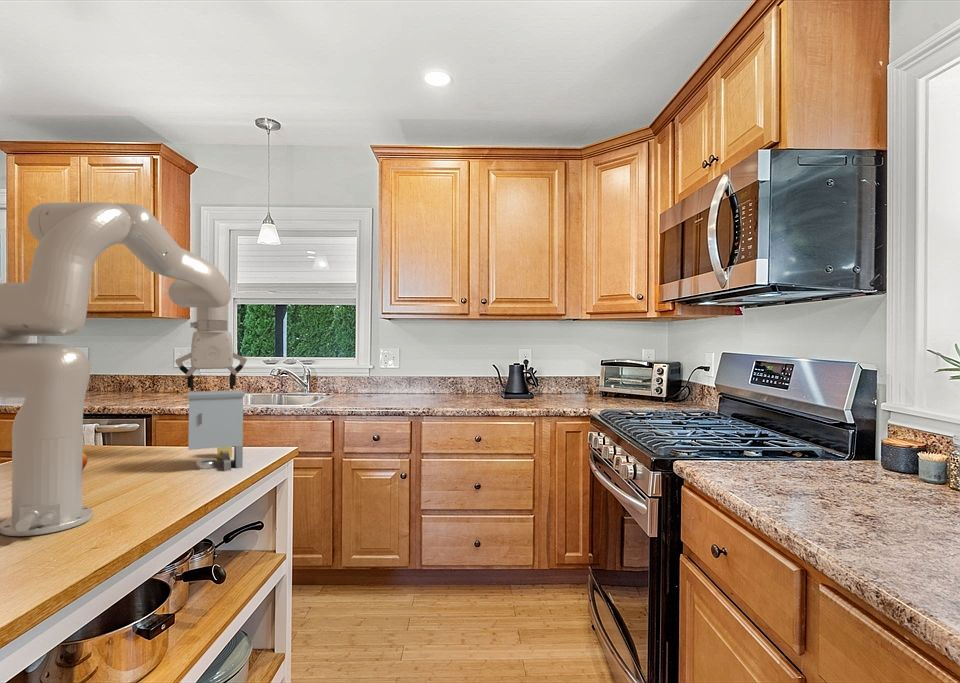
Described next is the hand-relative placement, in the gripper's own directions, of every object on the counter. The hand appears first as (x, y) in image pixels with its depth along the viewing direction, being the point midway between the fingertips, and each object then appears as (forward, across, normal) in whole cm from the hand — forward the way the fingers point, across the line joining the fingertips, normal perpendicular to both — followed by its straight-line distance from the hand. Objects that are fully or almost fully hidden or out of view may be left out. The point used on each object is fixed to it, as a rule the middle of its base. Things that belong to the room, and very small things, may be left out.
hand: (212, 389), depth 142 cm
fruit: (+18, -30, -7) cm, 36 cm away
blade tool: (+18, +3, -9) cm, 20 cm away
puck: (+18, -2, -12) cm, 22 cm away
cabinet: (+18, 0, -12) cm, 22 cm away
